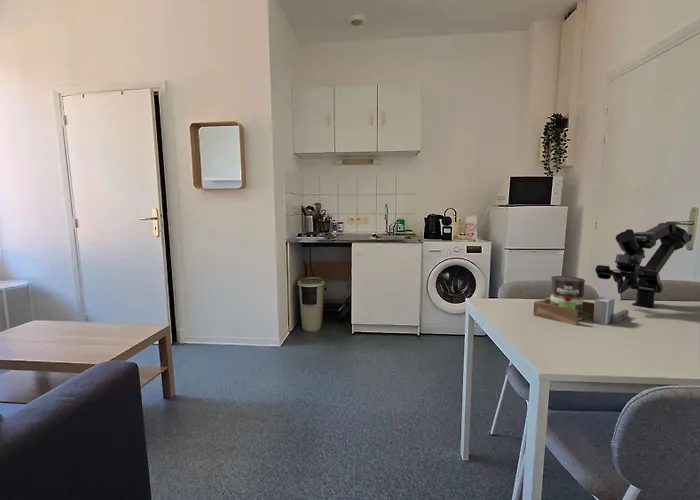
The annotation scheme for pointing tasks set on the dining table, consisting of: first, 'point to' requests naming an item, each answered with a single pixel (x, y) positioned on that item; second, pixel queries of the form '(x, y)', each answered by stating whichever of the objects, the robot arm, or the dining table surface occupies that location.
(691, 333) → the dining table surface
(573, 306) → the coffee can
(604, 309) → the blue block white cap
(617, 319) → the rails
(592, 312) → the walnut bay
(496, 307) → the dining table surface
